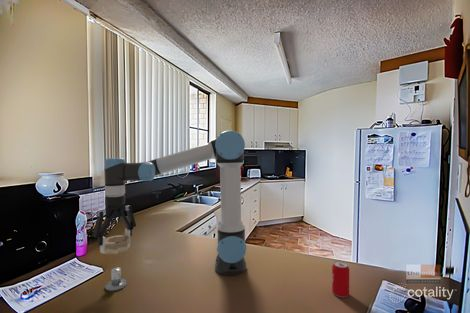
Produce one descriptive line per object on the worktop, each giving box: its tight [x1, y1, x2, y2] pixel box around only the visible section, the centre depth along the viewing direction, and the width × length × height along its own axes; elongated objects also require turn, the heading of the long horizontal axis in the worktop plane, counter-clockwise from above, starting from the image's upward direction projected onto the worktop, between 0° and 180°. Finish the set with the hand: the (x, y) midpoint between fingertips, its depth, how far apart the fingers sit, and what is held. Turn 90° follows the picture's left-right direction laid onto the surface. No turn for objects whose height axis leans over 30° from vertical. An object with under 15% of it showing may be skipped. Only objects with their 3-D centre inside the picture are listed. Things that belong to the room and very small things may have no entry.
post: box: [104, 266, 128, 292], centre depth 102 cm, size 8×8×7 cm
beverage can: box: [331, 260, 350, 299], centre depth 96 cm, size 6×6×12 cm
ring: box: [105, 234, 131, 255], centre depth 102 cm, size 10×10×4 cm
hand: (115, 248), depth 102 cm, fingers closed on ring, 10 cm apart
